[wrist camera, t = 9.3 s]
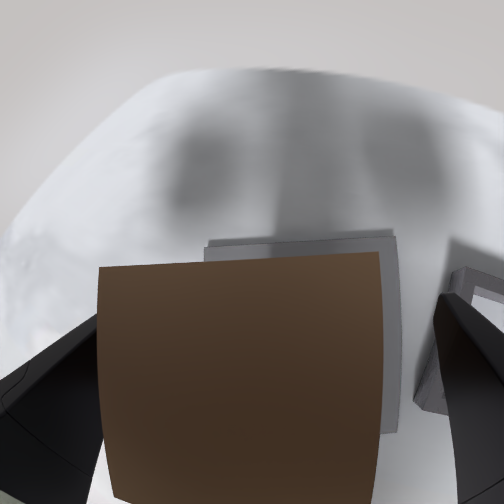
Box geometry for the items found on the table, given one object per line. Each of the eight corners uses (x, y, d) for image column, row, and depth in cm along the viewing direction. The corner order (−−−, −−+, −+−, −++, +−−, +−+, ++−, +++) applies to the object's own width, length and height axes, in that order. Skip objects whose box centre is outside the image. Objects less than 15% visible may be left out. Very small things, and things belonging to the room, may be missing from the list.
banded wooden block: (340, 379, 15) (367, 535, 3) (264, 379, 16) (112, 498, 4) (339, 302, 16) (381, 247, 4) (263, 305, 17) (97, 264, 4)
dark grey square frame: (506, 418, 12) (521, 426, 10) (412, 400, 14) (422, 410, 12) (539, 303, 13) (556, 301, 11) (452, 272, 15) (465, 266, 13)
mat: (395, 429, 14) (396, 432, 13) (207, 427, 16) (204, 430, 16) (393, 238, 16) (395, 236, 16) (207, 249, 19) (204, 247, 18)
